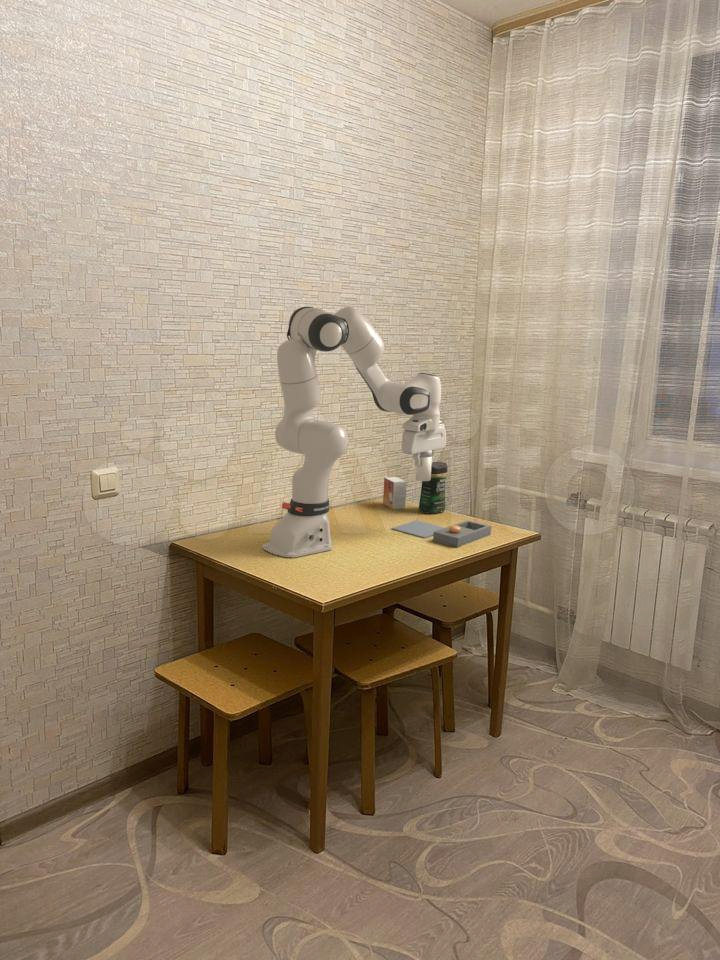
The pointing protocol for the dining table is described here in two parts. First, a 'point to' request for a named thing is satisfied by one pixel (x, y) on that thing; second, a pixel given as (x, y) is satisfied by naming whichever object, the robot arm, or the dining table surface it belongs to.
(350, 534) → the dining table surface
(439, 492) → the coffee jar
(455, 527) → the orange flat dome
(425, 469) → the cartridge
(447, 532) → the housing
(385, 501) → the small box
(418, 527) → the mat
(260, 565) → the dining table surface
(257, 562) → the dining table surface
